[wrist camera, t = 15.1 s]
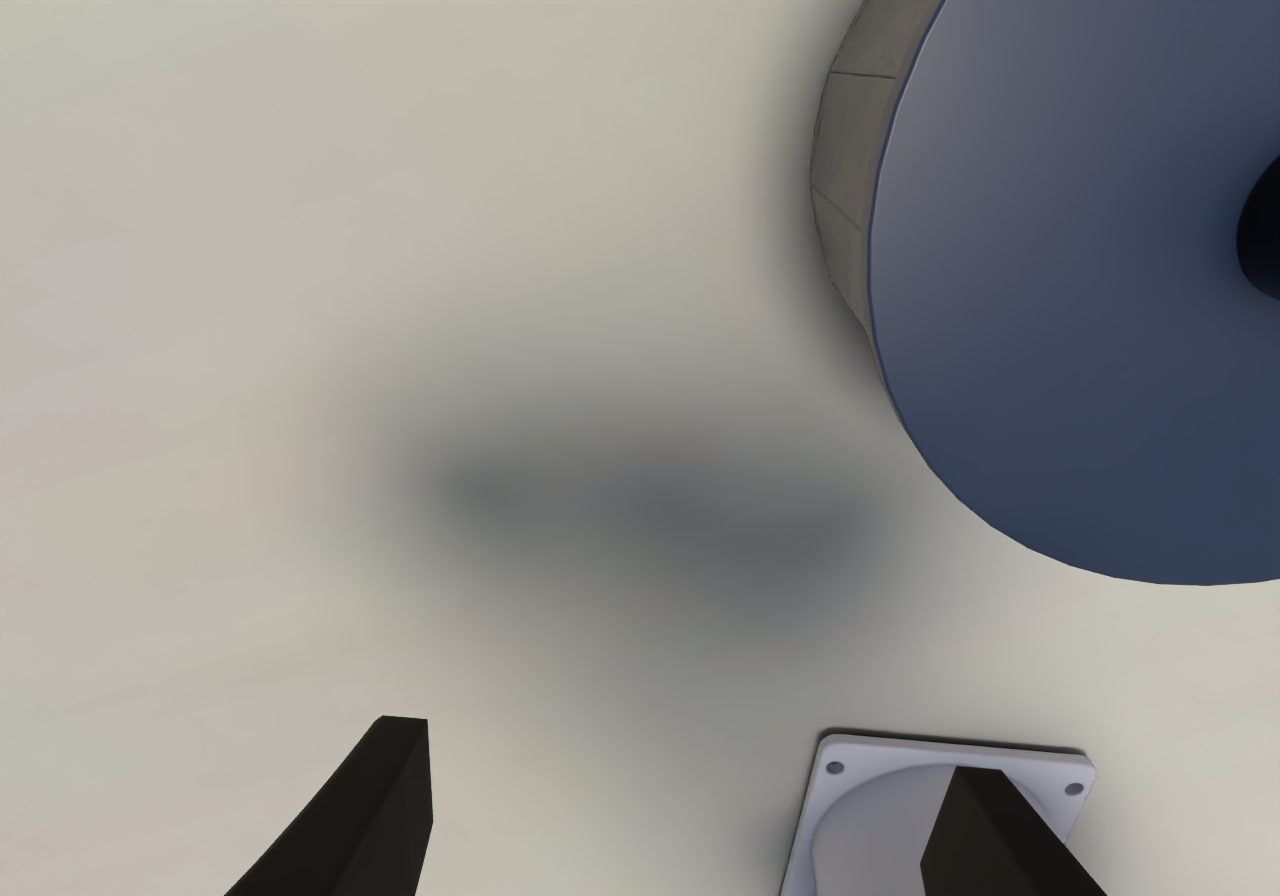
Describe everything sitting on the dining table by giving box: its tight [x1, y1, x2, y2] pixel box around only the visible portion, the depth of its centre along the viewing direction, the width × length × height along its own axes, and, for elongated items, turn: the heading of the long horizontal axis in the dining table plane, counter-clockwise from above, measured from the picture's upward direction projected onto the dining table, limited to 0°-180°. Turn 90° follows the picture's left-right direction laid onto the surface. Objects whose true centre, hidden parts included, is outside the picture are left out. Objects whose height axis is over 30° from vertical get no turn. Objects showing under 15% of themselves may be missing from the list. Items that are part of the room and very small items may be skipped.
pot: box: [811, 0, 931, 329], centre depth 13 cm, size 10×10×6 cm
